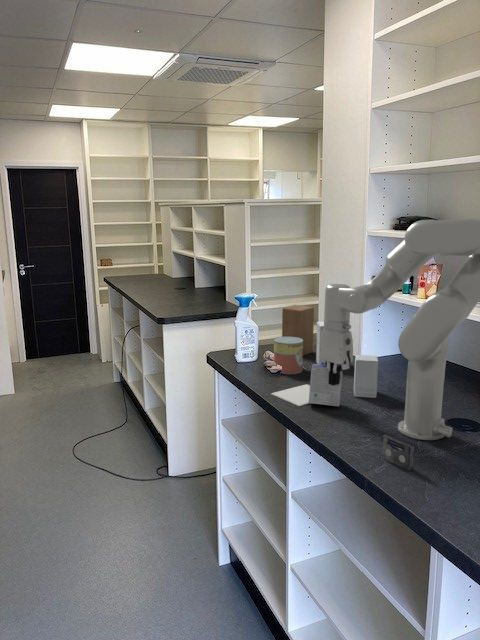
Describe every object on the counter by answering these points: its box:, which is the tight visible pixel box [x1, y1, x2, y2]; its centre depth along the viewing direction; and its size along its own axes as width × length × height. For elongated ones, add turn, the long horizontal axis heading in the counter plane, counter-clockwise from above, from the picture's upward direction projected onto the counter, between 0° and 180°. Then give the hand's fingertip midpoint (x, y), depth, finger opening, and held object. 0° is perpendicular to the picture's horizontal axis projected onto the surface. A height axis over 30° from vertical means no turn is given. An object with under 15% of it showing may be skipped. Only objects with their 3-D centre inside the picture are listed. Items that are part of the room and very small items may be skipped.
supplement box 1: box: [315, 321, 324, 364], centre depth 206 cm, size 10×9×17 cm
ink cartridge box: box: [308, 362, 344, 407], centre depth 163 cm, size 10×6×14 cm, turn 80°
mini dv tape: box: [380, 434, 415, 472], centre depth 125 cm, size 8×2×6 cm, turn 35°
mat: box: [270, 384, 311, 408], centre depth 172 cm, size 14×16×1 cm
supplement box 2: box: [353, 354, 379, 399], centre depth 173 cm, size 7×7×13 cm
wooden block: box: [281, 304, 315, 356], centre depth 224 cm, size 10×10×20 cm
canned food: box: [273, 336, 304, 375], centre depth 200 cm, size 11×11×12 cm
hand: (333, 383), depth 158 cm, fingers closed
